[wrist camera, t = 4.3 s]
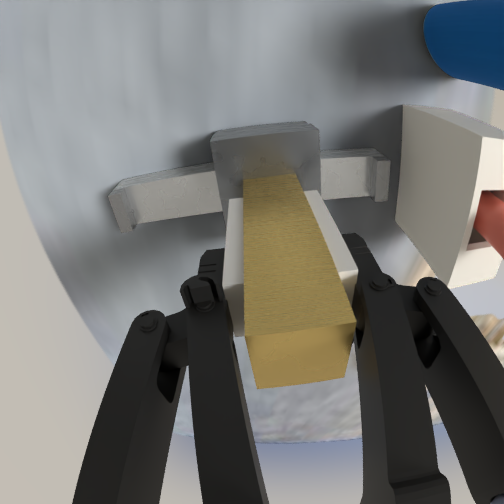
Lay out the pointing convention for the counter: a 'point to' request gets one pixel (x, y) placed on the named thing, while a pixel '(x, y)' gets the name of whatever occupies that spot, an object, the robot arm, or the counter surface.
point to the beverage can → (468, 40)
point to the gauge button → (491, 220)
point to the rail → (207, 194)
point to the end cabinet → (449, 190)
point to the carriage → (284, 255)
